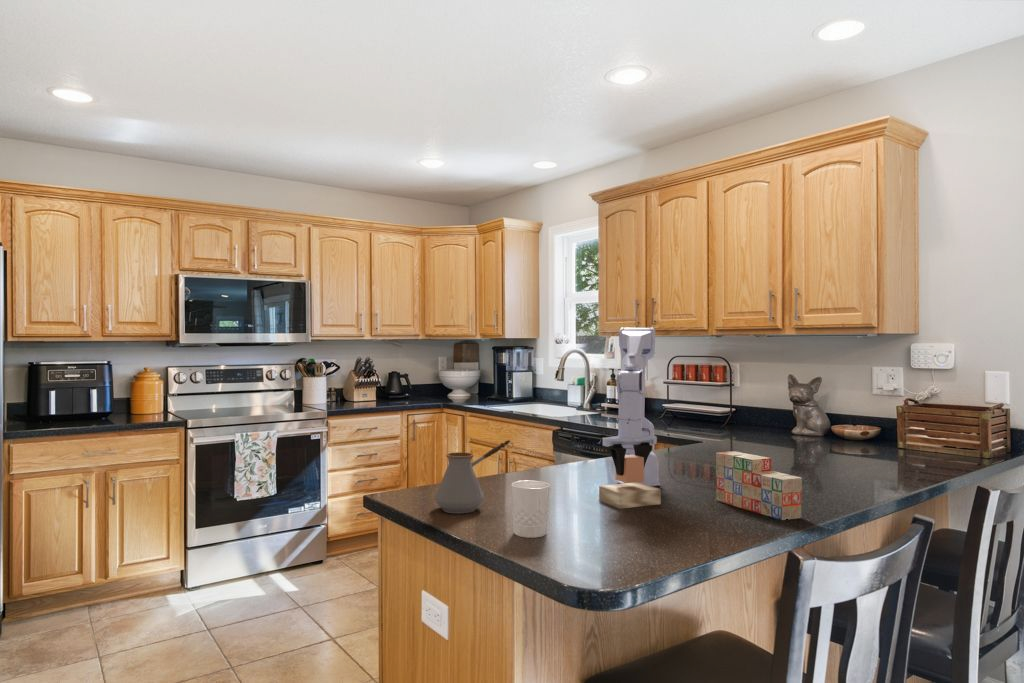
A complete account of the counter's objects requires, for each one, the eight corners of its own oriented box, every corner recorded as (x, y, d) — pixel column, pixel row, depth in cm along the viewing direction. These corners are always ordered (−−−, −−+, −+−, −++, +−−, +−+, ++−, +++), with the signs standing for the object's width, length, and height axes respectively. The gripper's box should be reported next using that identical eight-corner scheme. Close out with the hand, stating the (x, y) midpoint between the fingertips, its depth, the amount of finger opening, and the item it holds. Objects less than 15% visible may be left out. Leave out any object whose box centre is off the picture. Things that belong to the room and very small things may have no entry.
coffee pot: (452, 518, 142) (453, 450, 142) (425, 508, 150) (425, 444, 151) (525, 504, 155) (526, 442, 155) (496, 495, 164) (497, 437, 164)
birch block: (638, 497, 165) (638, 482, 165) (660, 505, 157) (660, 489, 157) (599, 501, 160) (599, 485, 160) (619, 510, 152) (619, 493, 152)
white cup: (520, 540, 126) (521, 489, 126) (504, 530, 133) (505, 482, 133) (556, 536, 129) (556, 486, 129) (539, 526, 136) (539, 479, 136)
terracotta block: (632, 478, 162) (632, 454, 162) (643, 481, 157) (643, 457, 157) (615, 479, 160) (615, 455, 160) (626, 483, 155) (626, 458, 156)
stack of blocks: (802, 518, 145) (802, 464, 145) (781, 521, 142) (781, 465, 142) (734, 498, 164) (734, 450, 164) (715, 500, 162) (715, 451, 162)
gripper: (613, 421, 152) (612, 479, 152) (664, 419, 158) (663, 475, 158) (598, 418, 159) (597, 473, 159) (647, 416, 164) (647, 469, 164)
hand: (629, 474), depth 159 cm, fingers open, 5 cm apart
